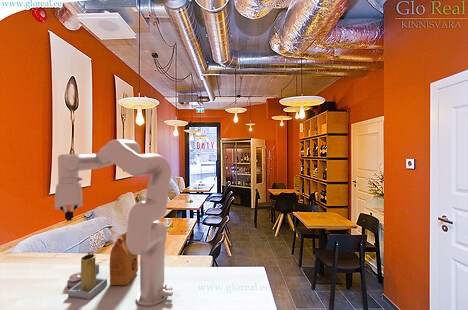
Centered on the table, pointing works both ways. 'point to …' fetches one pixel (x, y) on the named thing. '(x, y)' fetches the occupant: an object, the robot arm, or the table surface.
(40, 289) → the table surface
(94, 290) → the tray
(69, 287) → the disc
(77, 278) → the crank
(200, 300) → the table surface
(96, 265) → the post
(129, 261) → the coffee package
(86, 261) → the vase
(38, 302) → the table surface
